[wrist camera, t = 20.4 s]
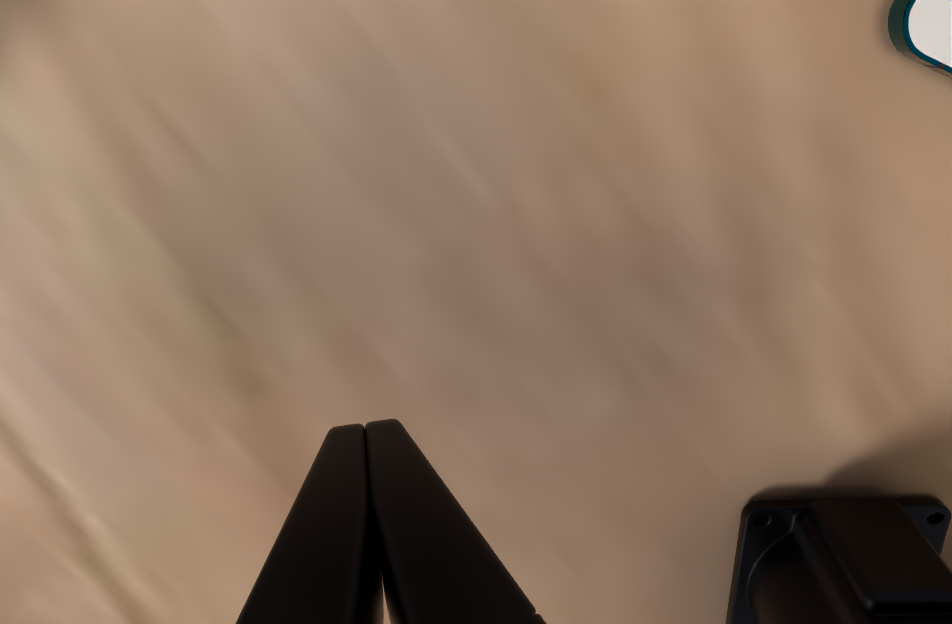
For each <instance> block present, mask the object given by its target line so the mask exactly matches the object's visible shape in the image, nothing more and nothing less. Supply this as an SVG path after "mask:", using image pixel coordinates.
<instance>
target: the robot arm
mask: <svg viewBox="0 0 952 624" xmlns="http://www.w3.org/2000/svg"><path fill="white" fill-rule="evenodd" d="M934 512H935V513H934ZM931 513H934V514H933V515H931V516H928V515H930V514H931ZM761 514H763V515H764V516H762V517H761V518H758V519H754V518H755V517H756V516H758V515H761ZM950 519H951V513H950V511H949V509H948V508H947V507H946V506H945V505H944V503H943V502H942V501H940V500H939V499H936V498H883V499H812V500H758V501H752V502H751V503H749V504H747V505H746V506H745V507H744V508H743V511H742V514H741V521H740V528H739V535H738V542H737V549H736V556H735V563H734V570H733V577H732V583H731V590H730V597H729V604H728V611H727V618H726V624H952V571H951V570H950V568H949V567H948V566H947V565H946V563H945V562H944V561H943V559H942V558H941V557H940V553H941V550H942V547H943V543H944V540H945V536H946V533H947V529H948V526H949V523H950ZM382 579H383V584H382ZM383 586H384V592H385V598H386V603H387V608H388V613H389V618H390V622H391V624H546V622H545V621H544V620H543V618H542V617H541V616H540V615H539V614H535V612H536V611H535V608H534V606H533V605H532V604H531V602H530V601H529V599H528V598H527V597H526V595H525V594H524V593H523V591H522V590H521V588H520V587H519V586H518V584H517V583H516V582H515V580H514V579H513V577H512V576H511V575H510V573H509V572H508V570H507V569H506V568H505V566H504V565H503V564H502V562H501V561H500V559H499V558H498V557H497V555H496V554H495V553H494V551H493V550H492V548H491V547H490V546H489V544H488V543H487V541H486V540H485V539H484V537H483V536H482V535H481V533H480V532H479V530H478V529H477V528H476V526H475V525H474V524H473V522H472V521H471V519H470V518H469V517H468V515H467V514H466V512H465V511H464V510H463V508H462V507H461V506H460V504H459V503H458V501H457V500H456V499H455V497H454V496H453V495H452V493H451V492H450V490H449V489H448V488H447V486H446V485H445V483H444V482H443V481H442V479H441V478H440V477H439V475H438V474H437V472H436V471H435V470H434V468H433V467H432V466H431V464H430V463H429V461H428V460H427V459H426V457H425V456H424V454H423V453H422V452H421V450H420V449H419V448H418V446H417V445H416V443H415V442H414V441H413V439H412V438H411V437H410V435H409V434H408V432H407V431H406V430H405V428H404V427H403V425H402V424H401V423H400V422H399V421H398V420H396V419H388V420H380V421H373V422H368V423H367V424H366V426H365V429H364V426H363V425H362V424H351V425H344V426H337V427H333V428H331V429H330V430H329V432H328V434H327V436H326V438H325V440H324V442H323V444H322V446H321V448H320V450H319V452H318V454H317V456H316V458H315V460H314V462H313V464H312V467H311V469H310V471H309V473H308V475H307V477H306V479H305V481H304V483H303V485H302V487H301V489H300V491H299V493H298V495H297V498H296V500H295V502H294V504H293V506H292V508H291V510H290V512H289V514H288V516H287V518H286V520H285V522H284V524H283V527H282V529H281V531H280V533H279V535H278V537H277V539H276V541H275V543H274V545H273V547H272V549H271V551H270V553H269V555H268V558H267V560H266V562H265V564H264V566H263V568H262V570H261V572H260V574H259V576H258V578H257V580H256V582H255V584H254V587H253V589H252V591H251V593H250V595H249V597H248V599H247V601H246V603H245V605H244V607H243V609H242V611H241V613H240V615H239V618H238V620H237V622H236V624H383V618H384V611H383Z"/></svg>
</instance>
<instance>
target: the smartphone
mask: <svg viewBox="0 0 952 624" xmlns="http://www.w3.org/2000/svg"><path fill="white" fill-rule="evenodd" d="M888 29H889V35H890V38H891V41H892V43H893V45H894V46H895V47H896V49H897V50H898V51H899V52H901V53H902V54H903V55H905V56H906V57H908V58H910V59H912V60H915V61H917V62H919V63H921V64H923V65H925V66H927V67H929V68H931V69H933V70H935V71H937V72H939V73H941V74H943V75H945V76H947V77H950V78H952V0H894V2H893V4H892V6H891V8H890V12H889V18H888Z"/></svg>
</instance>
